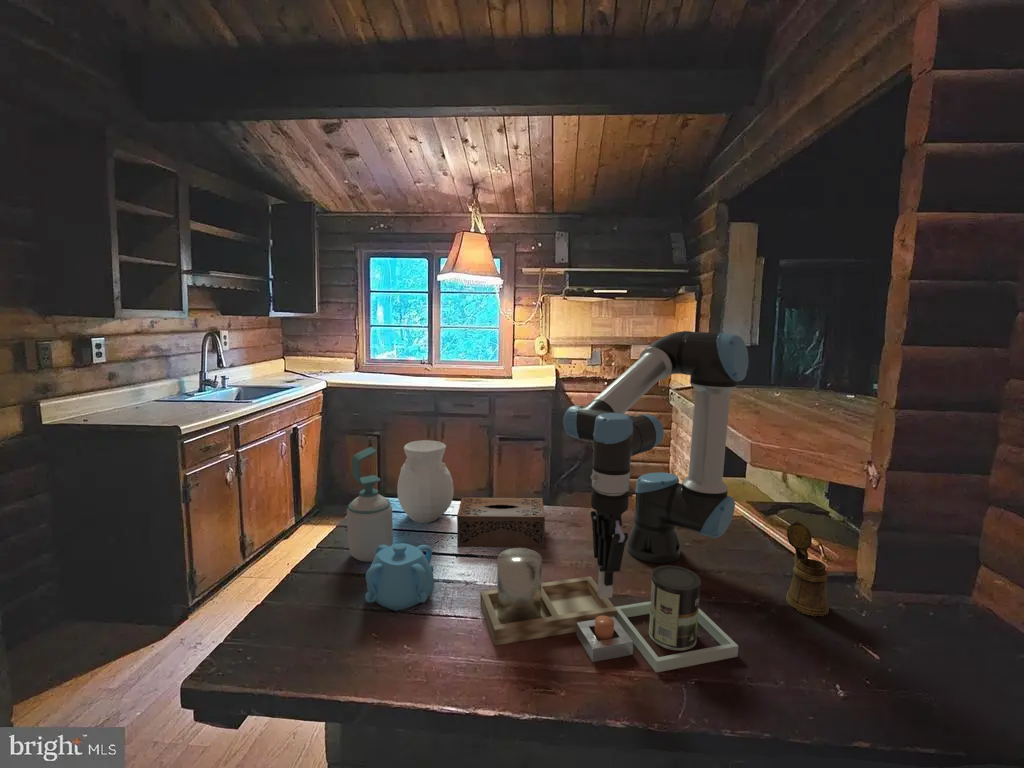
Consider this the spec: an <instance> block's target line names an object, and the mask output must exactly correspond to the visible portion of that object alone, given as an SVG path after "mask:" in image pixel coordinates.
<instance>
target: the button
mask: <svg viewBox="0 0 1024 768" xmlns="http://www.w3.org/2000/svg"><path fill="white" fill-rule="evenodd" d="M613 635H614V620H613V619H612V618H610V617H608V616H598V617H597V618H596V619H595V635H594V636H595V637H596V639H597V640H598V641H602V640H608V639H613Z"/></svg>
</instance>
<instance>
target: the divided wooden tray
mask: <svg viewBox="0 0 1024 768" xmlns="http://www.w3.org/2000/svg"><path fill="white" fill-rule="evenodd" d="M592 577H593V576H589V575H588V576H583V577H576V578H569V579H562V580H561V579H560V580H556V581H555V580H554V581H547V582H541V617H540V618H538V619H532V620H525V621H519V622H513V623H506V624H503V623H501V622H500V621H499V619H498V617H497V588H496V589H490V590H484V591H480V594H479V595H480V599H479V600H480V605H479V606H480V608H481V610H482V614H483V617H484V620H485V622H486V625H487V628H488V631H489V633H490V636H491V639H492V641H493V644H494V646H500V645H506V644H511V643H518V642H523V641H529V640H534V639H536V640H537V639H542V638H547V637H548V638H549V637H553V636H561V635H566V634H571V633H576V624H577V622H583V621H589V620H595V619H596V618H597V617H598V616H608V617H615V618H616V620H617V609H616V608H615V607H616V606H614V604H613V603H612V601H611V600H610V598H604V599H600V598H599V597H598V583H597V582H596V581H595V580H594V579H593V578H592Z"/></svg>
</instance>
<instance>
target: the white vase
mask: <svg viewBox="0 0 1024 768" xmlns="http://www.w3.org/2000/svg"><path fill="white" fill-rule="evenodd" d="M446 448H447V445H446V444H445V443H444V442H441V441H438V440H431V439H427V440H426V439H425V440H422V439H421V440H415V441H414V440H413V441H410V442H408V443H407V442H406V444H404V446H403V450H404V454H405V456H406V459H405V461H404V463H403V464H402V466H401V467H400V473H399V476H398V480H397V488H396V491H397V492H396V493H397V499H398V502H399V504H400V507H401V509H402V510H403V511H404V513H405V514H406V515H407V516H408V517H409V519H411V520H412V521H413V522H415V523H420V524H421V523H432V522H434V521H437V520H438V519H439V518H440V517H441V516H442V515H444V514H445V513H446V512H447V510H448V509H449V508H450V507H451V505H452V502H453V501H452V500H453V499H454V492H455V491H454V488H455V487H454V481H453V478H452V475H451V473H450V470H449V469H448V467H447V466H446V465H447V464H446V462H442V461H443V457H444V454H445V453H446Z"/></svg>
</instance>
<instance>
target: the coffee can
mask: <svg viewBox="0 0 1024 768" xmlns="http://www.w3.org/2000/svg"><path fill="white" fill-rule="evenodd" d="M650 578H651V585H650V586H651V589H650V601H651V605H650V614H649V625H648V626H649V627H648V628H649V629H648V635H649V637H650V639H651V640H652V641H653V642H654V643H655V644H656V645H657V646H660V647H661V648H664V649H667V650H670V651H675V652H677V651H678V652H679V651H680V652H681V651H688V650H691V649H693V648H694V647H695V646H696V644H697V643H698V642H697V641H698V640H697V635H698V634H697V633H698V609H700V608H699V607H700V593H701V592H700V591H701V586H702V580H701V578H700V576H699V575H698V574H697V573H696V572H694V571H692V570H691V569H688V568H685V567H682V566H679V565H660V566H658V567H655V568H654V569H653V570H652V571H651V575H650Z"/></svg>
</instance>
